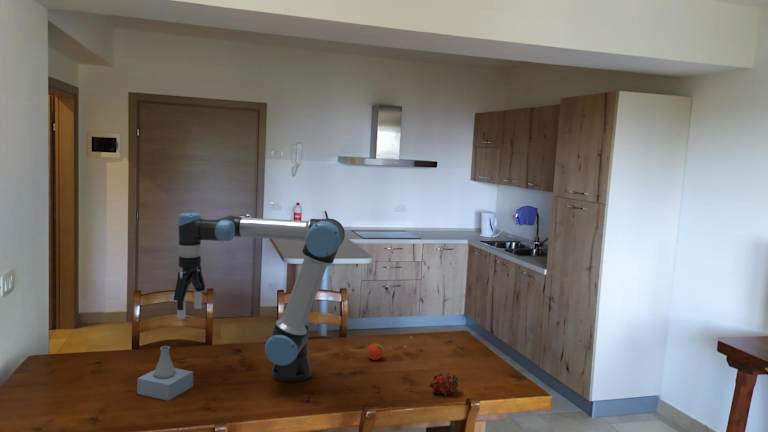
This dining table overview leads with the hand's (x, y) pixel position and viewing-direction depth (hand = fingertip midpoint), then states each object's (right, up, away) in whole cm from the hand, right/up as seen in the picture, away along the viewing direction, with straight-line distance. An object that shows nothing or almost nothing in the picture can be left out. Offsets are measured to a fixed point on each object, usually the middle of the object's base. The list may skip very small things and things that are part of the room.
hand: (190, 313), depth 201 cm
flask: (-7, -21, -7) cm, 23 cm away
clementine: (+67, -26, +35) cm, 80 cm away
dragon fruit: (+93, -31, +5) cm, 98 cm away
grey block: (-6, -27, -6) cm, 28 cm away
